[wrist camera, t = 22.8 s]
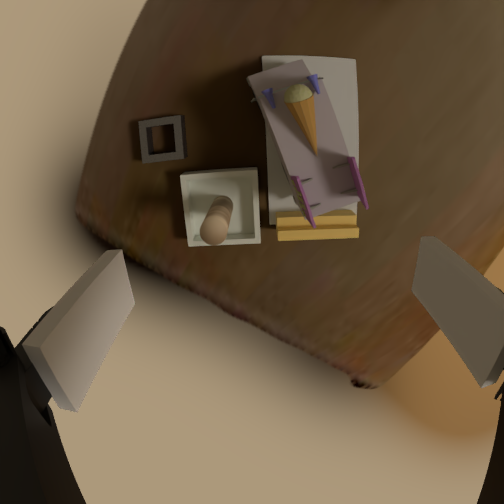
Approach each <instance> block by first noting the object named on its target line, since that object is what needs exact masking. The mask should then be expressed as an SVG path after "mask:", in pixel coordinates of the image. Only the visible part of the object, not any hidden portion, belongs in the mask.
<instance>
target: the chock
mask: <svg viewBox="0 0 504 504" xmlns="http://www.w3.org/2000/svg"><path fill="white" fill-rule="evenodd" d="M313 219H314V222H315V224H316V228H313V227H312V226H311V224H310V223H309V221H308V220H305V219H304V217H303V215H302V213H301V211H286V212H276V232H277V237H278V241H288V240H313V239H339V238H358V237H359V228H358V226H357V225H356V219H357V215H356V214H355V213H354V212H353V211H352V210H333V211H330V212H327V213H324V214H321V215H318V216H316V217H313Z"/></svg>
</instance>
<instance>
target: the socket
mask: <svg viewBox="0 0 504 504" xmlns="http://www.w3.org/2000/svg"><path fill="white" fill-rule="evenodd" d="M138 122H139V134H140V144H141V154H142V163H151V162H159V161H167V160H176V159H184V158H186V157H188V155H187V143H186V131H185V117H184V115H177V116H170V117H163V118H156V119H150V120H144V121H138ZM170 124H174V136H175V147H176V151H171V152H162V153H154V150H153V140H152V128H151V127H155V126H162V125H170Z"/></svg>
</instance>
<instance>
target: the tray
mask: <svg viewBox="0 0 504 504" xmlns="http://www.w3.org/2000/svg"><path fill="white" fill-rule="evenodd" d="M180 180H181V189H182V198H183V207H184V215H185V223H186V231H187V239H188V246H210V245H209V244H207V243H205V242H204V241H203V240H202V238H201V237H200V227H201V225H202V223H203V221H204V219H205V217H206V215H207V213H208V211H209V209H210V207H211V205H212V203H213V201H214V199H215V198H216V197H218V196H227V197H229V198H230V199H231V200H232V202H233V210H232V215H231V219H230V224H229V228H228V233H227V237H226V239H225V240H224V241H223V242H222V243H221V244H219V245H231V244H253V243H261V238H260V215H259V193H258V172H257V167H247V168H230V169H215V170H202V171H190V172H184V173H182V174H181V175H180Z"/></svg>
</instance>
